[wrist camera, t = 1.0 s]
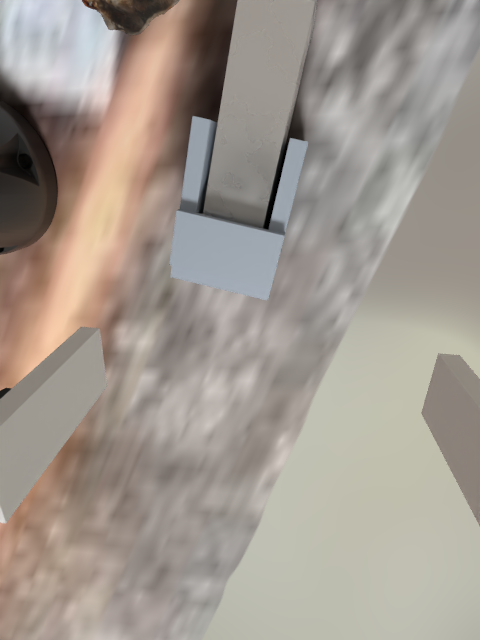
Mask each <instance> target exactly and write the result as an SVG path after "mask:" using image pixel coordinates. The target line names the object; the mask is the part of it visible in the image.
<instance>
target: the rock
mask: <svg viewBox="0 0 480 640" xmlns="http://www.w3.org/2000/svg"><path fill="white" fill-rule="evenodd" d="M178 1H179V0H82V2H83V3H84V4H85V6H87V7H89V8H91V9H95V10H97V11H98V12H99V13H100V14H101V15H102V17H103V19H104V21H105V23H106V25H107V27H108V29H109V30H120V31H123V32H125V33H126V34H128V35H138V34H140V33H141V32H142V31H143V30H144V29H145V28H146V27H147V26H148V25H149V23H150V21H151V20H153V19H154V18H155V17H157V16H159V15H161V14H165V13H166V12H167V11H168V10H169V9H170V8H172V7H173V6H174V5H176V4H177V3H178Z"/></svg>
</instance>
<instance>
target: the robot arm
mask: <svg viewBox="0 0 480 640" xmlns="http://www.w3.org/2000/svg"><path fill="white" fill-rule="evenodd" d="M56 204H57V183H56V176H55V172H54V168H53V165H52V161H51V159H50V156H49V154H48V152H47V149H46V147H45V146H44V144H43V142H42V140H41V139H40V137H39V136H38V134H37V133H36V131H35V130H34V129H33V127H32V126H31V125H30V124H29V123H28V121H27V120H26V119H25V118H24V117H23V116H22V115H21V114H19V113H18V112H17V111H16V110H15V109H13V108H12V107H11V106H9V105H8V104H6V103H5V102H3V101H1V100H0V255H1V254H7V253H11V252H14V251H17V250H20V249H22V248H25V247H28V246H30V245H31V244H33V243H35V242H36V241H37V240H38V239H40V238H41V237H42V236H43V234H44V233H45V232H46V231H47V229H48V228H49V226H50V224H51V222H52V219H53V217H54V214H55V209H56ZM106 387H107V380H106V372H105V365H104V358H103V350H102V343H101V336H100V329H99V328H88V327H81V328H79V329H78V330H77V331H76V332H75V333H74V334H73V335H72V336H70V337H69V338H68V339H67V340H66V341H65V342H64V343H63V344H61V345H60V346H59V347H58V348H57V349H56V350H55V351H54V352H53V353H51V354H50V355H49V356H48V357H47V358H46V359H45V360H44V361H42V362H41V363H40V364H39V365H38V366H37V367H36V368H35V369H33V370H32V371H31V372H30V373H29V374H28V375H27V376H26V377H24V378H23V379H22V380H21V381H20V382H19V383H18V384H17V385H16V386H14V387H13V388H12V389H11V388H5V389H3V390H1V391H0V523H7V521H8V520H9V519H10V517H11V516H12V515H13V513H14V512H15V511H16V509H17V508H18V506H19V505H20V504H21V502H22V501H23V500H24V498H25V497H26V496H27V494H28V493H29V492H30V490H31V489H32V487H33V486H34V485H35V483H36V482H37V481H38V479H39V478H40V477H41V475H42V474H43V473H44V471H45V470H46V468H47V467H48V466H49V464H50V463H51V462H52V460H53V459H54V458H55V456H56V455H57V454H58V452H59V451H60V449H61V448H62V447H63V445H64V444H65V443H66V441H67V440H68V439H69V437H70V436H71V434H72V433H73V432H74V430H75V429H76V428H77V426H78V425H79V424H80V422H81V421H82V420H83V418H84V417H85V415H86V414H87V413H88V411H89V410H90V409H91V407H92V406H93V405H94V403H95V402H96V401H97V399H98V398H99V396H100V395H101V394H102V392H103V391H104V390H105V388H106ZM422 415H423V417H424V419H425V421H426V423H427V425H428V427H429V429H430V431H431V433H432V434H433V437H434V438H435V440H436V442H437V444H438V446H439V448H440V450H441V452H442V454H443V456H444V458H445V459H446V462H447V464H448V465H449V467H450V469H451V471H452V473H453V475H454V477H455V479H456V481H457V483H458V485H459V487H460V489H461V490H462V492H463V494H464V496H465V498H466V500H467V502H468V504H469V506H470V508H471V510H472V512H473V514H474V516H475V517H476V520H477V521H478V523H479V525H480V379H479V378H478V376H477V375H476V374H475V373H474V372H473V371H472V370H471V368H470V367H469V366H468V365H467V363H466V362H465V361H464V360H463V359H462V357H461V356H460V355H449V354H438V357H437V360H436V363H435V367H434V370H433V374H432V378H431V381H430V385H429V388H428V392H427V395H426V399H425V402H424V406H423V409H422Z"/></svg>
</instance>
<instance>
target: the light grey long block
mask: <svg viewBox="0 0 480 640" xmlns="http://www.w3.org/2000/svg"><path fill="white" fill-rule="evenodd" d="M317 2H318V0H238V1H237V7H236V13H235V19H234V25H233V32H232V38H231V44H230V50H229V56H228V62H227V68H226V75H225V81H224V87H223V93H222V99H221V105H220V112H219V118H218V124H217V130H216V136H215V142H214V148H213V155H212V161H211V167H210V173H209V179H208V185H207V192H206V198H205V204H204V210H203V214H204V215H208V216H212V217H216V218H221V219H225V220H229V221H233V222H237V223H242V224H246V225H250V226H254V227H259V228H263V229H266V227H267V222H268V218H269V214H270V210H271V205H272V201H273V197H274V193H275V188H276V184H277V180H278V175H279V171H280V167H281V163H282V158H283V154H284V150H285V146H286V141H287V137H288V133H289V128H290V124H291V120H292V116H293V111H294V107H295V103H296V99H297V94H298V90H299V86H300V81H301V77H302V73H303V69H304V64H305V60H306V56H307V52H308V47H309V43H310V42H311V37H312V33H313V29H314V22H315V16H316V9H317Z"/></svg>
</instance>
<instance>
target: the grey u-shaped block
mask: <svg viewBox="0 0 480 640" xmlns="http://www.w3.org/2000/svg"><path fill="white" fill-rule="evenodd" d="M217 124H218V123H217V122H214V121H212V120H209V119H204V118H200V117H196V116H193V117H192V124H191V131H190V139H189V146H188V153H187V160H186V168H185V175H184V182H183V190H182V197H181V204H180V209H179V210H177V212H176V219H175V227H174V234H173V242H172V249H171V257H170V264H169V265H172V270H171V277H173V278H177V279H181V280H185V281H189V282H193V283H197V284H202V285H206V286H210V287H214V288H218V289H222V290H226V291H230V292H234V293H239V294H243V295H247V296H251V297H255V298H259V299H263V300H267V301H268V298H269V294H270V290H271V287H272V283H273V279H274V275H275V271H276V267H277V264H278V260H279V256H280V252H281V248H282V244H283V240H284V236H285V231H286V227H287V223H288V220H289V216H290V212H291V208H292V204H293V200H294V196H295V192H296V188H297V184H298V180H299V177H300V173H301V169H302V165H303V161H304V157H305V153H306V149H307V145H308V142H306V141H302V140H297V139H293V138H290V141H289V145H288V149H287V153H286V157H285V162H284V166H283V170H282V174H281V179H280V183H279V187H278V191H277V195H276V200H275V204H274V208H273V212H272V217H271V221H270V225H269V229H268V230H267V229H263V228H259V227H254V226H250V225H246V224H242V223H237V222H233V221H229V220H225V219H221V218H216V217H212V216H208V215H204V214H203V210H204V204H205V198H206V192H207V185H208V179H209V173H210V167H211V161H212V155H213V148H214V142H215V136H216V130H217Z"/></svg>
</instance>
